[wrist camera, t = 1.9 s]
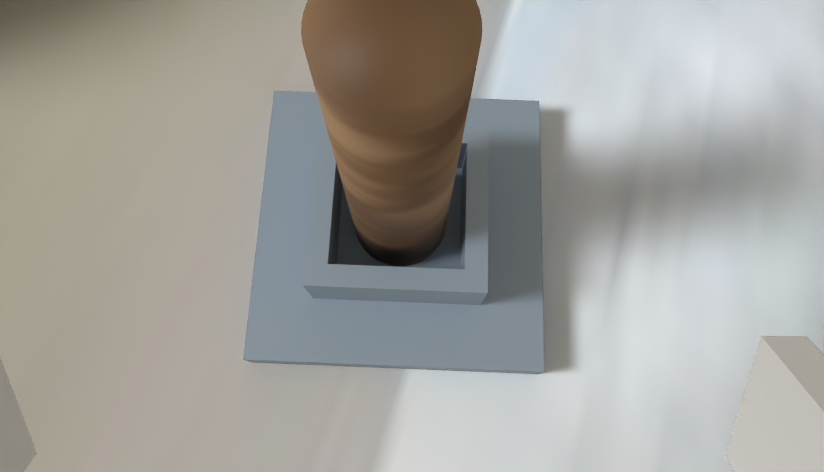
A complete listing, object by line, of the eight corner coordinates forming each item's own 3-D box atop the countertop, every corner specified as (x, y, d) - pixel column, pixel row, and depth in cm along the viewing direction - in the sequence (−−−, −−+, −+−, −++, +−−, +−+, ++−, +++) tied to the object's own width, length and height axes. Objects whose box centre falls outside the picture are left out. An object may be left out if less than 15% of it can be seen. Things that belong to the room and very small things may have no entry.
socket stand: (251, 362, 30) (224, 352, 26) (279, 104, 34) (261, 59, 30) (537, 374, 30) (559, 366, 26) (533, 114, 34) (551, 70, 30)
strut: (351, 264, 30) (293, 103, 15) (358, 177, 31) (309, -52, 16) (444, 268, 30) (481, 111, 15) (446, 181, 31) (483, -46, 16)
